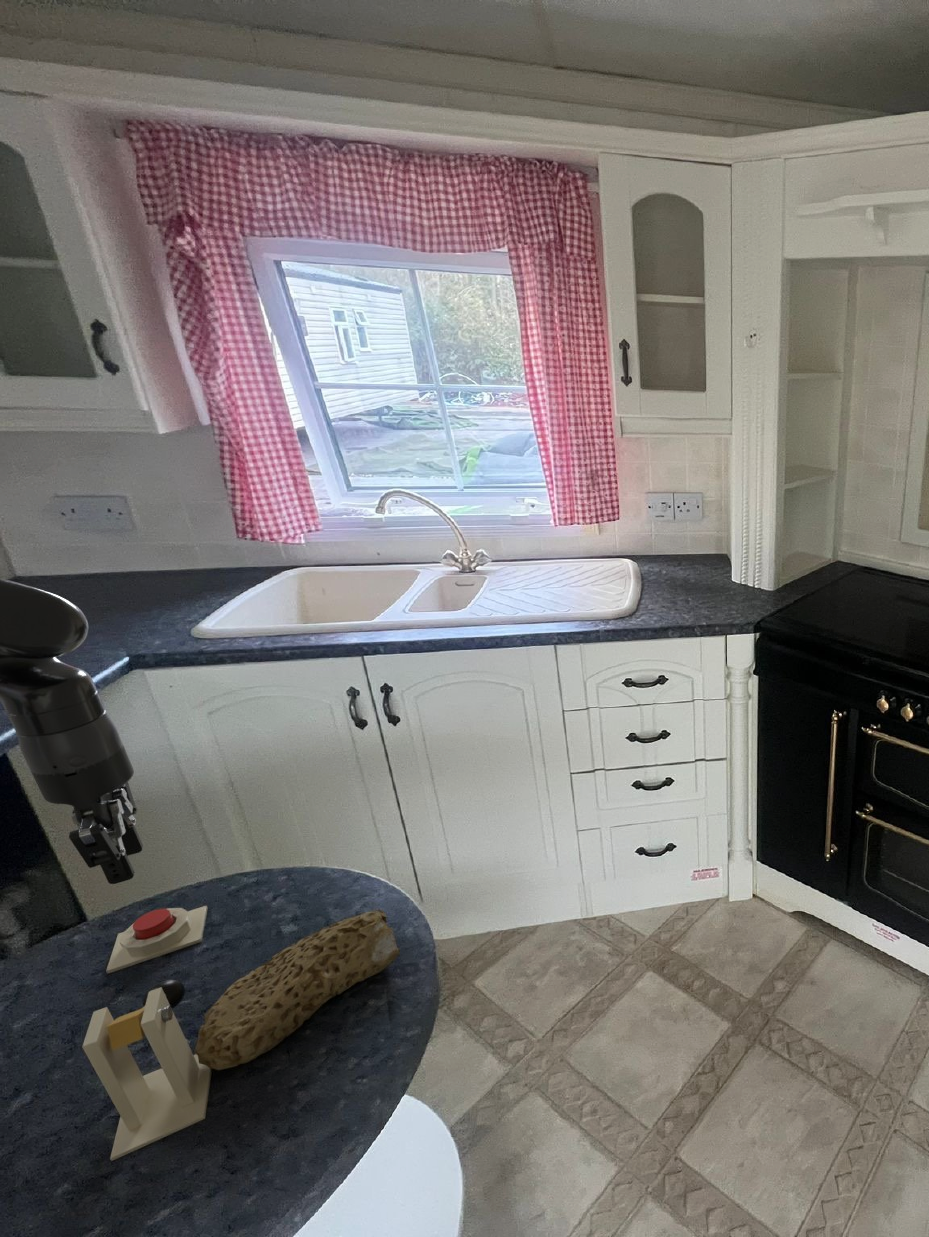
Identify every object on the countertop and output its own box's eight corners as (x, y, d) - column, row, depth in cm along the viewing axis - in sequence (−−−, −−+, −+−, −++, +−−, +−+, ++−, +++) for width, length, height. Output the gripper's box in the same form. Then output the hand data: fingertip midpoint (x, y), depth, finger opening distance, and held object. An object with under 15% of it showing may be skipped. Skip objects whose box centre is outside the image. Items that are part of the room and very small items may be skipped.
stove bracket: (132, 1088, 72) (84, 999, 67) (216, 1053, 76) (178, 966, 71) (113, 1166, 65) (59, 1073, 60) (207, 1123, 69) (163, 1032, 64)
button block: (109, 978, 84) (100, 961, 83) (121, 940, 89) (113, 924, 88) (203, 946, 89) (196, 929, 88) (209, 912, 94) (203, 896, 93)
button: (134, 944, 86) (129, 934, 85) (139, 925, 88) (135, 916, 88) (172, 932, 88) (167, 922, 87) (176, 914, 90) (172, 904, 90)
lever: (151, 1014, 76) (145, 985, 76) (191, 999, 77) (185, 970, 78) (103, 1059, 64) (96, 1024, 64) (151, 1040, 66) (145, 1006, 66)
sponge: (378, 933, 93) (183, 1002, 78) (383, 892, 91) (182, 955, 76) (408, 1006, 86) (199, 1098, 71) (415, 963, 83) (199, 1049, 68)
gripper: (48, 734, 81) (99, 845, 87) (8, 796, 70) (69, 916, 77) (133, 718, 85) (176, 824, 91) (107, 773, 74) (158, 889, 81)
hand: (127, 865), depth 84 cm, fingers open, 5 cm apart
